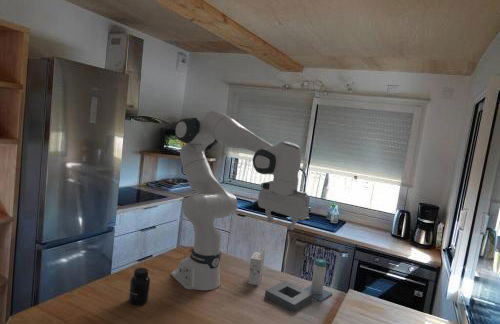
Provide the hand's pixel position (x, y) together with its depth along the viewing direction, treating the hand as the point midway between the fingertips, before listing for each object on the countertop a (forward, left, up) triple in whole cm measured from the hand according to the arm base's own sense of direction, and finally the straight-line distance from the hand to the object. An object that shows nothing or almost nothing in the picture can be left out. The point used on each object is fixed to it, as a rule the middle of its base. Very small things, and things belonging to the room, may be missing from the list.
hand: (280, 225), depth 123 cm
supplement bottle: (-36, -32, -34) cm, 59 cm away
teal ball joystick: (+3, +30, -34) cm, 45 cm away
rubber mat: (+3, +30, -34) cm, 45 cm away
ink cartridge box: (-21, +17, -34) cm, 44 cm away
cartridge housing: (-2, +16, -34) cm, 38 cm away
